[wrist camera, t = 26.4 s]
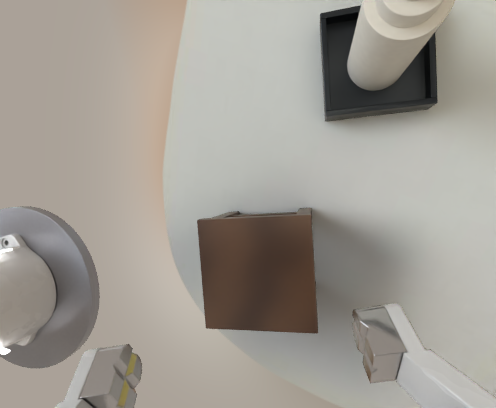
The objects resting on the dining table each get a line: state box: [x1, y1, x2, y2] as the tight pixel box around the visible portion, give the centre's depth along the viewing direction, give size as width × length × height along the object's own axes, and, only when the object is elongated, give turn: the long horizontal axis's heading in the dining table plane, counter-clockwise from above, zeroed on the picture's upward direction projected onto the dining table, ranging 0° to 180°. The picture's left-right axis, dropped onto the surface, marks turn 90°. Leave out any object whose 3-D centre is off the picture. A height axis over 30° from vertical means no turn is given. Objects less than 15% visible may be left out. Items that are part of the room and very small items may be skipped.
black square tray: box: [320, 6, 437, 121], centre depth 32 cm, size 11×11×3 cm
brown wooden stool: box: [197, 208, 318, 333], centre depth 33 cm, size 11×11×10 cm
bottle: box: [347, 0, 455, 91], centre depth 24 cm, size 6×6×18 cm
